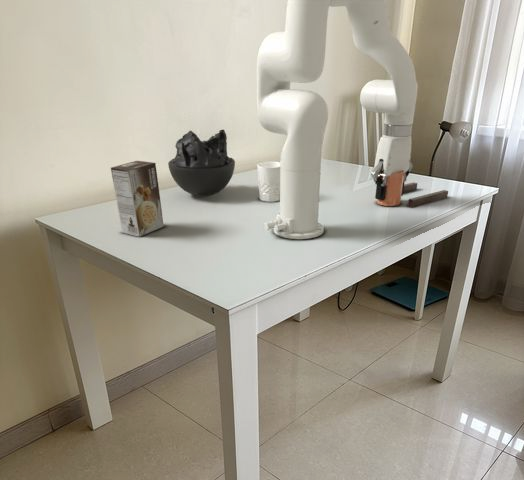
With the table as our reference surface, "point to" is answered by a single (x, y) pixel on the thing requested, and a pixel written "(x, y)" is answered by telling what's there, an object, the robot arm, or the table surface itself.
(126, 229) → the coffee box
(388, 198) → the peach cup
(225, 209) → the table surface
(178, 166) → the bowl of black rocks
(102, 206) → the table surface
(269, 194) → the white cup
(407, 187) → the guide rails
